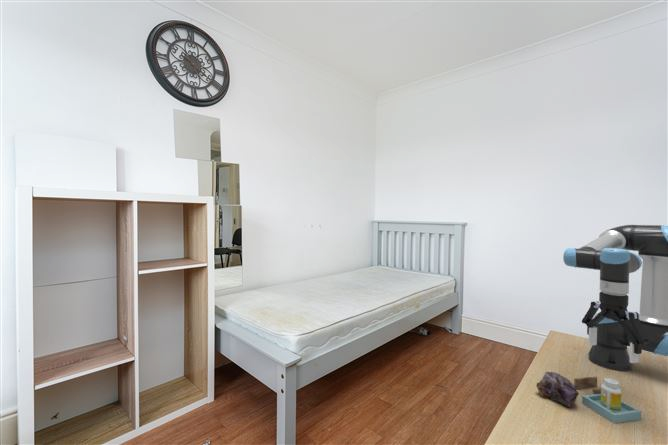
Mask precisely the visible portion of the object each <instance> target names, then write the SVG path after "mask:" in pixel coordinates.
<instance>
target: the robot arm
mask: <svg viewBox="0 0 668 445" xmlns="http://www.w3.org/2000/svg"><path fill="white" fill-rule="evenodd" d="M631 251H635V252H638V253H637V254H636V253H634V252H631ZM562 256H563V262H564V265H565V266H568V267H573V268H580V269H588V270H596V271H597V270H598V271H599V291H600V292H598V293H599V296H598V297H599V298H598V301H596V300H595V301H590V307H589V308H588V310H587V312H586V313H585V314H584V317H583V318H582V320H581V323H582V324H585V326H586V327H587V328H586V332H587V333H586V334H587V335H588V345H589V346H591V347H590V349H589V352H588V357H587V358H588V360H589V361H590V362H592V363H593V364H595V365H597V366H599V367H602V368H605V369H609V370H614V371H619V372H620V371H621V372H628V371H632V370H633V364H637V363H639V362H640V355H642V352H643V351H644V352H648V353H652V354H654V355H660V356H663V357H668V225H664V224H661V225H659V224H658V225H655V224H653V225H652V224H651V225H649V224H627V225H626V224H624V225H618V226H616V227H612V228H609V229H607V230H605V231H603V232H602V233H601V234H600V235H599V236H598V237H597V238H595V239H594V240H591V241H590V242H588V243H586V244H585V245H583V246H581V247H580V248H576V247H574V248H573V247H572V248H570V247H568V248H566V249H565V250H564V253H563V255H562ZM640 268H642V269H641V284H640V286H641V287H640V299H639V312H638V311H634V312H633V311H628V306H629V294H630V274H632V273H635V272H637V271H638V270H640ZM599 309H600V311H599ZM598 311H599V312H598ZM597 312H598V313H597ZM628 347H629V351H628Z"/></svg>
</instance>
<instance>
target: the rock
mask: <svg viewBox="0 0 668 445" xmlns="http://www.w3.org/2000/svg"><path fill="white" fill-rule="evenodd" d="M535 386H536V388H537V390H538V392H539V395H540V396H541V397H543V398H544V399H547V398H548V399H550V400H553V401H555V402H557V403H561V404H562V405H564V406H566V407H568V408H573V407H574V406H575V402H576V400H577V397H578V396H579V394H580V392H578V389H577V390H576V388H575V386H574V384H573V383H572V382H571V381H570V380H569V379H568V378H567V377H564V376H562V375H561V374H560V373H557V372H555V371H554V372H553V371H545V373H544V374H543V377H542V378H541V379H540V380H539V382H537V383H536V385H535Z"/></svg>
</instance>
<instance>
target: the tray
mask: <svg viewBox="0 0 668 445" xmlns="http://www.w3.org/2000/svg"><path fill="white" fill-rule="evenodd" d="M600 401H601V394H593V393H592V394H587V395H582V396H581V403H582V405H585V407H588V409H591V410H592V411H594V412H595V413H597V414H599V415H600V416H602V417H604V418H605V419H606V420H608V421H610V422H611V423H613V424H620V423H627V422H633V421H634V422H635V421H641V420H642V411H641V410H639V409H638V408H636V407H634V406H632V405H631V404H629V403H627V402H625V401H623V400H621V411H620V412H613V411H610V410H608V409H606V408H605V407H603V406H601V404H600Z"/></svg>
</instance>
